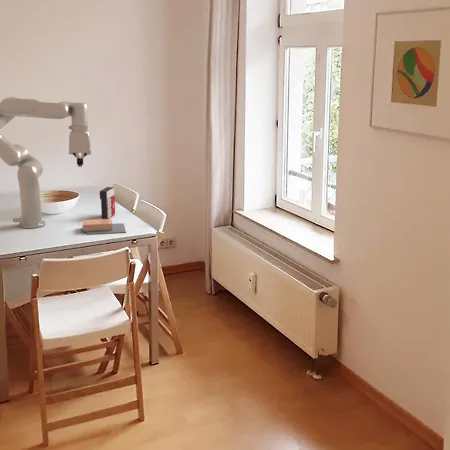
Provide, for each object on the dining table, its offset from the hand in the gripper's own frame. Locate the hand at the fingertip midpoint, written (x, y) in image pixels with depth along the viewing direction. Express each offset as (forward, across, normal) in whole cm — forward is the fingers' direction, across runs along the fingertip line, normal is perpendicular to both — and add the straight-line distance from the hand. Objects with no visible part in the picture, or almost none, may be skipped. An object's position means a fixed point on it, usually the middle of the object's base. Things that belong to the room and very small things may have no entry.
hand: (80, 166), depth 318 cm
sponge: (+28, +1, -10) cm, 29 cm away
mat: (+30, +12, -9) cm, 33 cm away
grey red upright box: (+30, +14, +15) cm, 36 cm away
